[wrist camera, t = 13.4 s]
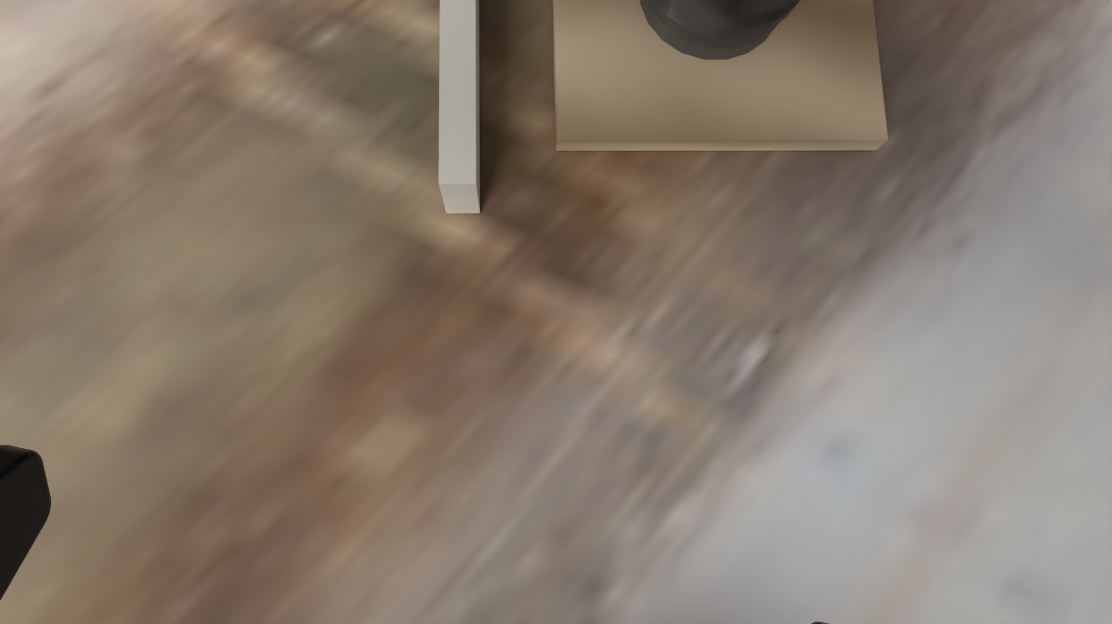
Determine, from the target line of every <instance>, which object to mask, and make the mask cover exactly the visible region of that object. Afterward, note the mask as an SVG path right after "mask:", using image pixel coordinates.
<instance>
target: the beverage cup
mask: <svg viewBox="0 0 1112 624" xmlns="http://www.w3.org/2000/svg"><path fill="white" fill-rule="evenodd" d="M799 1H800V0H640V5H641V7H642V10H643V12H644V15H645V17H646V19H647V22H648V24H649V25H650V26H651V27H652V29H653V30H654V31H655V32H656V33H657V35H658V36H659V37H660V38H661V39H662V40H663V41H664V42H666V43H667V44H669V45H670V46H672V47H673V48H675V49H676V50H678V51H679V52H681V53H683V54H687V55H690V56H693V57H697V58H700V59H703V60H727V59H731V58H734V57H737V56H741V55H744V54H747V53H749V52H750V51H752V50H753V49H755V48H756V47H757V46H759V45H760V44H762V43H763V42H765V41H766V39H767V38H768V36H769V35H770V34H771V32H772V31H773V30H774V29H775V28H776V26H777V25H778V24H779V23H780V22H781V21H782V20H783V19H785V18H786V17H787V16H788V15H789V14H790V12H791V11H792V10H793V9H794V7H795V6H796V5H797V4H798V2H799Z"/></svg>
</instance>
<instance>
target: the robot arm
mask: <svg viewBox="0 0 1112 624" xmlns="http://www.w3.org/2000/svg"><path fill="white" fill-rule="evenodd" d="M50 508H51V496H50V492H49V487H48V483H47V478H46V474H45V470H44V465H43V461H42V458H41V456H40V455H39V454H38V453H37V452H35V451H33V450H29V449H24V448H19V447H15V446H10V445H0V600H1V599H2V597H3V595H4V593H5V592H6V590H7V588H8V586H9V585H10V583H11V581H12V580H13V578H14V576H15V574H16V573H17V571H18V569H19V567H20V566H21V564H22V562H23V560H24V559H25V557H26V555H27V554H28V552H29V550H30V548H31V547H32V545H33V543H34V541H35V540H36V538H37V536H38V535H39V533H40V531H41V529H42V528H43V526H44V524H45V522H46V520H47V518H48V515H49V513H50ZM812 624H828V623H823V622H813V623H812Z"/></svg>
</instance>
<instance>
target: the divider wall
mask: <svg viewBox="0 0 1112 624" xmlns="http://www.w3.org/2000/svg"><path fill="white" fill-rule="evenodd" d="M439 187H440V191H441V195H442V199H443V203H444V206H445V210H446V213H480V91H479V0H440V61H439Z"/></svg>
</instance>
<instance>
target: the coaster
mask: <svg viewBox="0 0 1112 624" xmlns="http://www.w3.org/2000/svg"><path fill="white" fill-rule="evenodd" d="M552 9H553V52H554V94H555V137H556V151H840V150H878V149H879V148H880V147H881V146H882V145H883V144H884V143H885V142H887V141H888V134H887V125H886V116H885V107H884V97H883V88H882V79H881V70H880V60H879V51H878V42H877V33H876V23H875V14H874V5H873V0H800V1H799V2H798V4H797V5H796V6H795V7H794V9H793V10H792V11H791V12H790V14H789V15H788V16H787V17H786V18H785V19H783V20H782V21H781V22H780V23H779V24H778V25H777V26H776V28H775V29H774V30H773V31H772V32H771V34H770V35H769V36H768V38H767V39H766V41H765V42H763V43H762V44H760V45H759V46H757V47H756V48H755V49H753V50H752V51H750V52H749V53H747V54H744V55H741V56H737V57H734V58H731V59H727V60H703V59H700V58H697V57H693V56H690V55H687V54H683V53H681V52H679V51H678V50H676V49H675V48H673V47H672V46H670V45H669V44H667V43H666V42H664V41H663V40H662V39H661V38H660V37H659V36H658V35H657V33H656V32H655V31H654V30H653V29H652V27H651V26H650V25H649V24H648V22H647V19H646V17H645V15H644V12H643V10H642V7H641V5H640V0H552Z"/></svg>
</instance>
